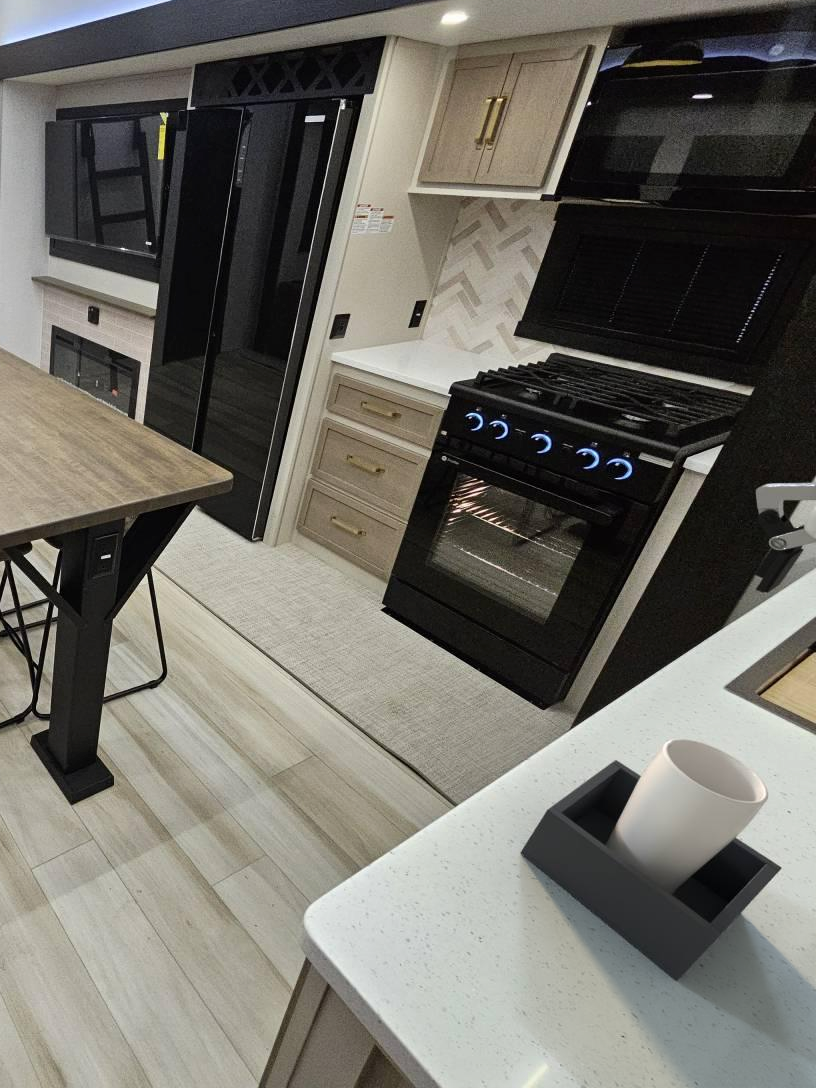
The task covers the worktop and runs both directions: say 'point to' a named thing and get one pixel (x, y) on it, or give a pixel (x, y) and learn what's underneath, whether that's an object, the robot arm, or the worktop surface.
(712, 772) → the white cup
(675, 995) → the worktop surface
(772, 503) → the robot arm
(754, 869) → the bin
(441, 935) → the worktop surface
